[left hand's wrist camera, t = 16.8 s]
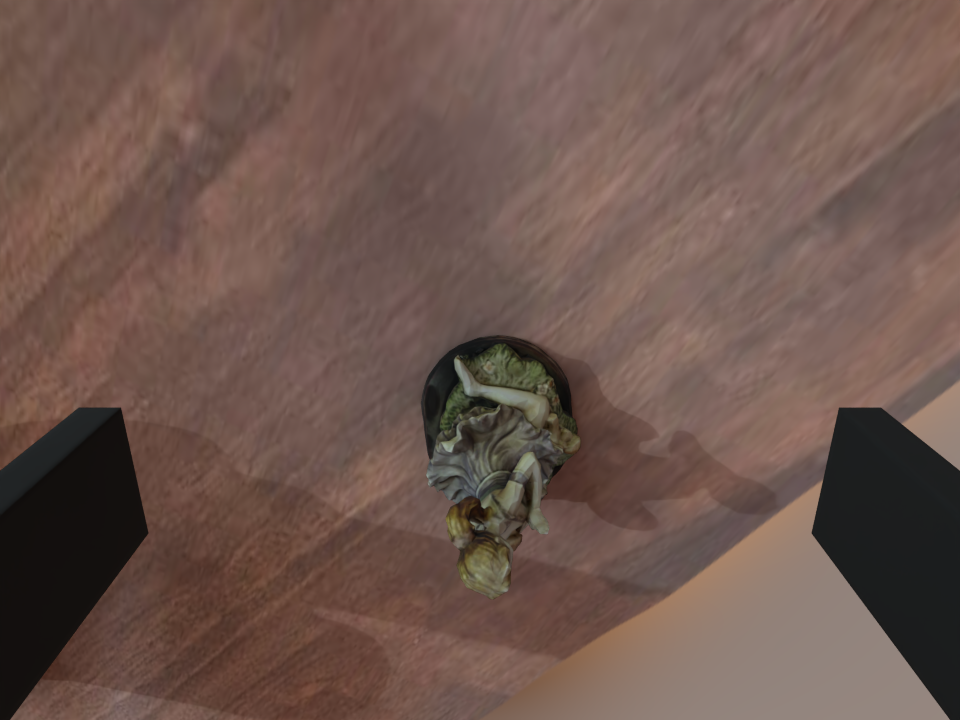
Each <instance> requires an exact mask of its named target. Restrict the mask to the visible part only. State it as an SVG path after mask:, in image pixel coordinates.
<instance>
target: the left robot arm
mask: <svg viewBox="0 0 960 720" xmlns="http://www.w3.org/2000/svg"><path fill="white" fill-rule="evenodd" d="M147 534H148V529H147V525H146V520H145V515H144V511H143V506H142V502H141V497H140V493H139V488H138V483H137V479H136V474H135V470H134V465H133V461H132V456H131V451H130V447H129V442H128V438H127V433H126V429H125V424H124V419H123V415H122V410H121V408H78V409H77V410H75V411H74V412H73V413H72V414H71V415H69V416H68V417H67V418H66V419H64V420H63V421H62V422H61V423H59V424H58V425H57V426H56V427H54V428H53V429H52V430H51V431H49V432H48V433H47V434H46V435H44V436H43V437H42V438H41V439H39V440H38V441H37V442H36V443H34V444H33V445H32V446H31V447H29V448H28V449H27V450H26V451H24V452H23V453H22V454H21V455H19V456H18V457H17V458H16V459H14V460H13V461H12V462H11V463H9V464H8V465H7V466H6V467H4V468H3V469H2V470H1V471H0V720H10V719H11V718H12V716H13V715H14V714H15V712H16V711H17V710H18V708H19V707H20V706H21V704H22V703H23V701H24V700H25V699H26V697H27V696H28V695H29V693H30V692H31V691H32V689H33V688H34V687H35V685H36V684H37V683H38V681H39V680H40V679H41V677H42V676H43V675H44V673H45V672H46V671H47V669H48V668H49V666H50V665H51V664H52V662H53V661H54V660H55V658H56V657H57V656H58V654H59V653H60V652H61V650H62V649H63V648H64V646H65V645H66V644H67V642H68V641H69V640H70V638H71V637H72V635H73V634H74V633H75V631H76V630H77V629H78V627H79V626H80V625H81V623H82V622H83V621H84V619H85V618H86V617H87V615H88V614H89V613H90V611H91V610H92V609H93V607H94V606H95V605H96V603H97V602H98V600H99V599H100V598H101V596H102V595H103V594H104V592H105V591H106V590H107V588H108V587H109V586H110V584H111V583H112V582H113V580H114V579H115V578H116V576H117V575H118V574H119V572H120V571H121V570H122V568H123V567H124V565H125V564H126V563H127V561H128V560H129V559H130V557H131V556H132V555H133V553H134V552H135V551H136V549H137V548H138V547H139V545H140V544H141V543H142V541H143V540H144V539H145V537H146V536H147ZM812 534H813V536H814V537H815V539H816V540H817V541H818V543H819V544H820V545H821V547H822V548H823V549H824V551H825V552H826V553H827V555H828V556H829V557H830V559H831V560H832V561H833V563H834V564H835V565H836V567H837V568H838V569H839V571H840V572H841V574H842V575H843V576H844V578H845V579H846V580H847V582H848V583H849V584H850V586H851V587H852V588H853V590H854V591H855V592H856V594H857V595H858V596H859V598H860V599H861V600H862V602H863V603H864V605H865V606H866V607H867V609H868V610H869V611H870V613H871V614H872V615H873V617H874V618H875V619H876V621H877V622H878V623H879V625H880V626H881V627H882V629H883V630H884V631H885V633H886V634H887V635H888V637H889V638H890V640H891V641H892V642H893V644H894V645H895V646H896V648H897V649H898V650H899V652H900V653H901V654H902V656H903V657H904V658H905V660H906V661H907V662H908V664H909V665H910V666H911V668H912V669H913V670H914V672H915V673H916V675H917V676H918V677H919V679H920V680H921V681H922V683H923V684H924V685H925V687H926V688H927V689H928V691H929V692H930V693H931V695H932V696H933V697H934V699H935V700H936V701H937V703H938V704H939V706H940V707H941V708H942V710H943V711H944V712H945V714H946V715H947V716H948V718H949V719H950V720H960V471H959V470H958V469H957V468H956V467H954V466H953V465H952V464H951V463H949V462H948V461H947V460H946V459H944V458H943V457H942V456H941V455H939V454H938V453H937V452H936V451H934V450H933V449H932V448H931V447H929V446H928V445H927V444H926V443H924V442H923V441H922V440H921V439H919V438H918V437H917V436H916V435H914V434H913V433H912V432H911V431H909V430H908V429H907V428H906V427H904V426H903V425H902V424H901V423H899V422H898V421H897V420H896V419H894V418H893V417H892V416H891V415H889V414H888V413H887V412H886V411H884V410H883V409H882V408H839V410H838V415H837V419H836V424H835V429H834V433H833V438H832V442H831V447H830V451H829V456H828V461H827V465H826V470H825V474H824V479H823V483H822V488H821V493H820V497H819V502H818V506H817V511H816V516H815V520H814V525H813V529H812Z"/></svg>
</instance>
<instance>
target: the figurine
mask: <svg viewBox="0 0 960 720" xmlns="http://www.w3.org/2000/svg"><path fill="white" fill-rule="evenodd" d="M421 407H422V415H423V420H424V430H425V437H426V444H427V451H428V455H429V459H430V461H429V465H428V470H427V475H426V476H427V477H428V479H429V482H428V485H429V486H430V487H432V486H435V488H436V490H437V492H438V491H440V490H442V491H443V492H444V494H445V496H446V497H447V499H448V500H453V501H454V502H455V503H456V504H455V505H453V506H452V507H450V509H449V512H448V514H447V516H446V522H447V525H448V535H449V538H450V540H451V542H452V543H453V544H454V545H455V547H456V548H458V549H459V550H460V556H459V560H458V563H457V568H458V571H459V574H460V578H461V580H462V581H463V582H464V584H465V585H466V587H467V588H469V589H471V590H474V591H476V592H478V593H480V594H483V595H486V596H487V597H488V598H489V599H495V598H497V597H498V596H500V595H502V594H504V593H505V592H507V591H508V589H509V586H510V584H511V564H512V559H513V551H515V550H516V548H517V547H518V546H519V544H520V543H521V542H522V535H521V534H520V533H521V532H522V531H523V530H524V529H525V528H526V527H527V526H528V524H529V526H530V527H531V529H532V530H534V529H536V530H537V531H538V532H539V533H540V534H548V531H549V526H548V522H547V520H546V518H545V517H544V516H543V515H542V513H541V510H540V503H541V500H542V499H543V497H544V495H547V485H548V484H549V482H550V480H551V478H552V477H553V476H554V475H555V474H556V473H557V472H558V471H559V470H560V469H561V467H562V465H563V464H564V462H565V461H566V460H568V459H569V458H570V457H571V456H573V455H574V454H575V453H577V452H578V450H579V449H580V445H581V440H580V437H579V436H578V435H577V425H576V421H575V419H574V418H572V407H571V394H570V389H569V385H568V381H567V378H566V376H565V374H564V373H563V371H562V369H561V368H560V367H559V366H558V364H557V363H556V362H555V361H554V360H553V359H551V358H550V357H549V356H548V355H547V354H546V353H544V352H543V351H542V350H541V349H539V348H538V347H536V346H534V345H532V344H531V343H528V342H526V341H523V340H520V339H516V338H512V337H506V336H499V335H497V336H489V337H480V338H477V339H475V340H472V341H469V342H467V343H464V344H461V345H459V346H457V347H456V348H454V349H452V350H451V351H449V352H448V353H447V354H446V355H445V356H444V357H443V358H442V359H441V360H440V361H439V362H438V364H437V365H436V366H435V367H434V369H433V370H432V371H431V373H430V374H429V376H428V378H427V381H426V384H425V387H424V390H423V395H422V401H421Z"/></svg>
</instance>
